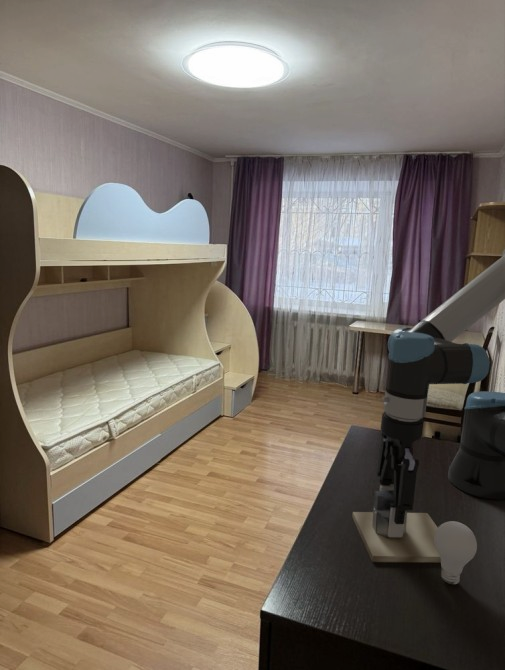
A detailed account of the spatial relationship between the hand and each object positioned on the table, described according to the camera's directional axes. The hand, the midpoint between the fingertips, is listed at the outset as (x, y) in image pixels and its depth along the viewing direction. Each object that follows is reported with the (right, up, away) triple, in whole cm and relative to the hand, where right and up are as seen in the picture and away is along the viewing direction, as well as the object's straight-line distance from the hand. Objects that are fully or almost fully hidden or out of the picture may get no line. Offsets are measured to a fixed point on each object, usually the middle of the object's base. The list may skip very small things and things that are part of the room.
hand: (389, 525), depth 93 cm
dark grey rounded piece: (0, -1, 0) cm, 1 cm away
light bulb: (+7, -5, -12) cm, 15 cm away
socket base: (+2, -2, 0) cm, 3 cm away
